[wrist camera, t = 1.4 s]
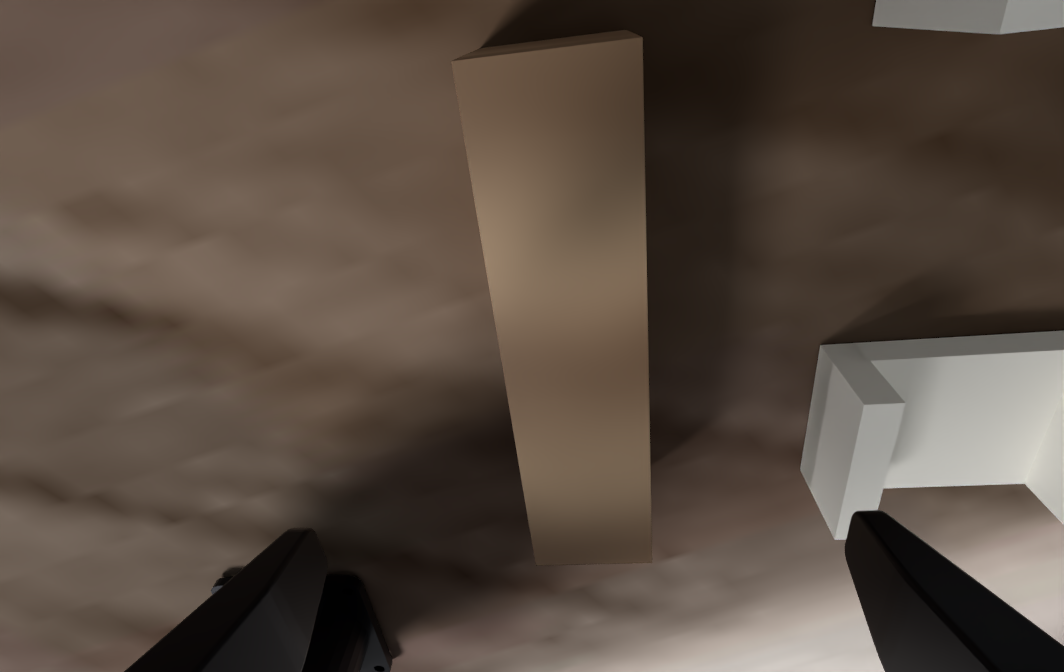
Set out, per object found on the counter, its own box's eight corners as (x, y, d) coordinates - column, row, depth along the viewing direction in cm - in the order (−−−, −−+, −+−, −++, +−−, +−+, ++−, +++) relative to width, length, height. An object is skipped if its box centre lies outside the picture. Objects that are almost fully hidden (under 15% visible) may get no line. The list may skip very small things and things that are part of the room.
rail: (639, 469, 21) (652, 562, 17) (541, 473, 21) (535, 565, 17) (624, 28, 14) (642, 36, 10) (481, 47, 14) (451, 60, 11)
